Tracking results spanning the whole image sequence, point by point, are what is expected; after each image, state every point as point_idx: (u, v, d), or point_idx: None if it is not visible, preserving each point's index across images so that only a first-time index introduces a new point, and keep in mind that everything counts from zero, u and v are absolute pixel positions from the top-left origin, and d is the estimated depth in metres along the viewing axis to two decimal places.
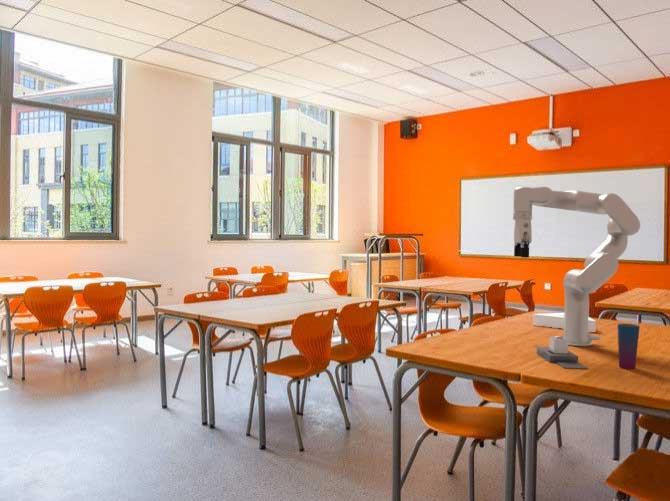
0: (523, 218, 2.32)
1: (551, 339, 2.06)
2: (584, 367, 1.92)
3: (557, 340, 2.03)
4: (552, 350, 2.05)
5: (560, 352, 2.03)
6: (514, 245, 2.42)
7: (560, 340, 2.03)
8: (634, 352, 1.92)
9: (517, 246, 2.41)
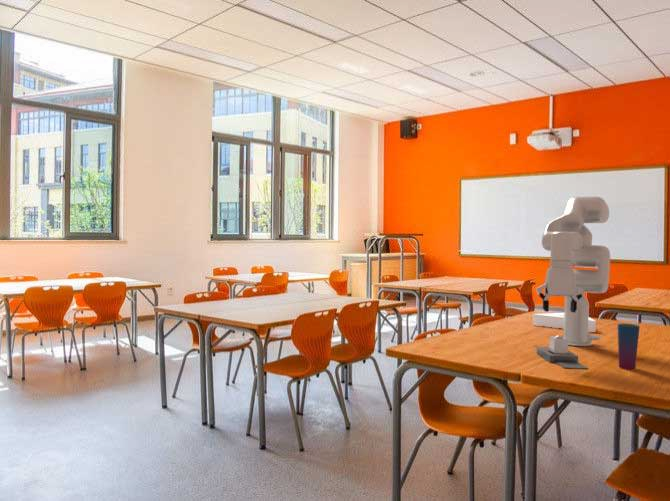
0: None
1: (551, 339, 2.06)
2: (584, 367, 1.92)
3: (557, 340, 2.03)
4: (552, 350, 2.05)
5: (560, 352, 2.03)
6: (544, 298, 2.04)
7: (560, 340, 2.03)
8: (634, 352, 1.92)
9: None
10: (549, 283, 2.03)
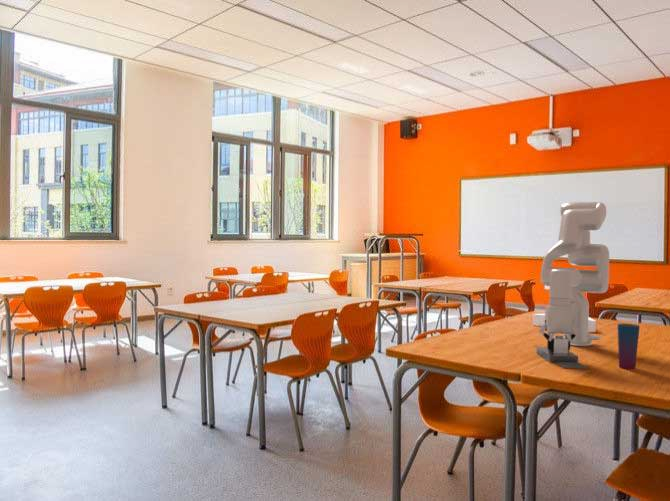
0: None
1: None
2: (584, 367, 1.92)
3: (557, 340, 2.03)
4: None
5: (560, 352, 2.03)
6: (549, 339, 2.05)
7: (560, 340, 2.03)
8: (634, 352, 1.92)
9: None
10: (548, 321, 2.04)
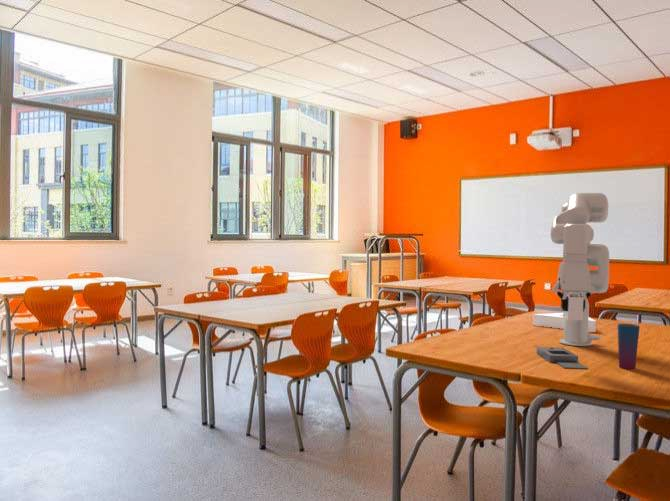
0: None
1: None
2: (584, 367, 1.92)
3: (572, 298, 1.93)
4: None
5: (575, 310, 1.93)
6: (563, 298, 1.94)
7: (575, 298, 1.93)
8: (634, 352, 1.92)
9: None
10: (562, 278, 1.93)
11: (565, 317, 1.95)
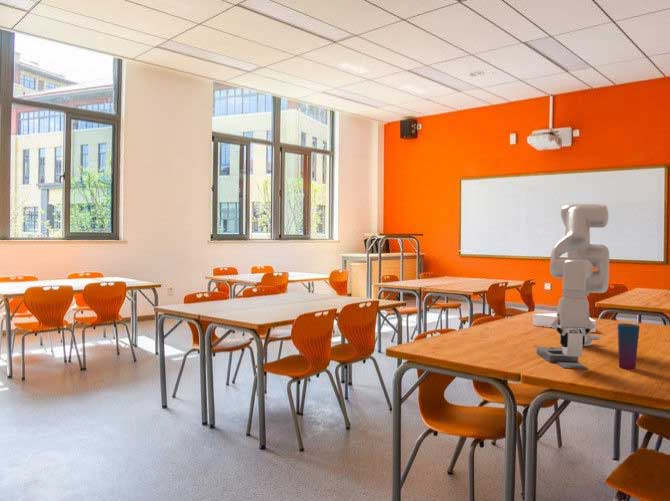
0: None
1: None
2: (584, 367, 1.92)
3: (571, 334, 1.93)
4: None
5: (575, 347, 1.93)
6: (562, 334, 1.94)
7: (574, 334, 1.93)
8: (634, 352, 1.92)
9: None
10: (561, 314, 1.93)
11: (564, 353, 1.95)
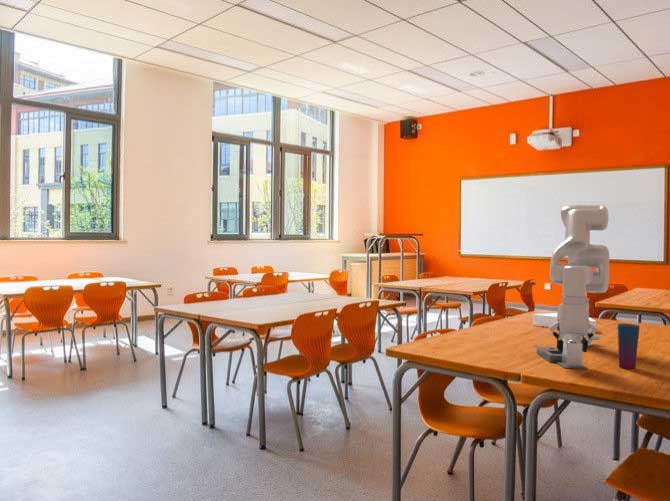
0: None
1: (564, 343, 1.96)
2: (584, 367, 1.92)
3: (571, 345, 1.93)
4: (566, 355, 1.94)
5: (574, 357, 1.93)
6: (558, 338, 1.94)
7: (574, 345, 1.93)
8: (634, 352, 1.92)
9: None
10: (561, 320, 1.93)
11: (564, 363, 1.96)
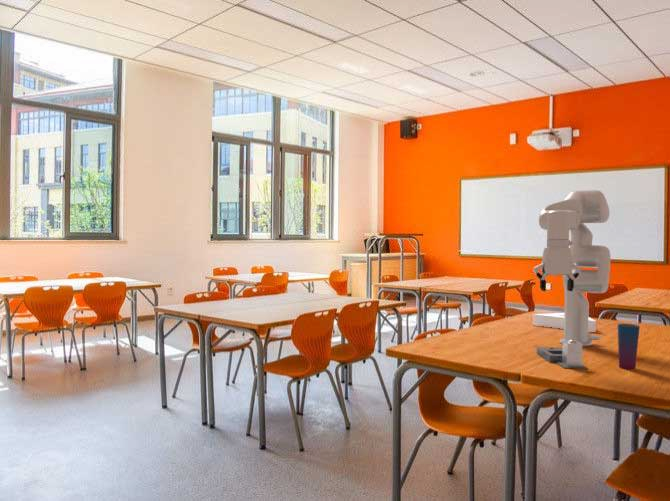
0: None
1: (564, 343, 1.96)
2: (584, 367, 1.92)
3: (571, 345, 1.93)
4: (566, 355, 1.94)
5: (574, 357, 1.93)
6: (541, 278, 2.03)
7: (574, 345, 1.93)
8: (634, 352, 1.92)
9: None
10: (546, 262, 2.02)
11: (564, 363, 1.96)
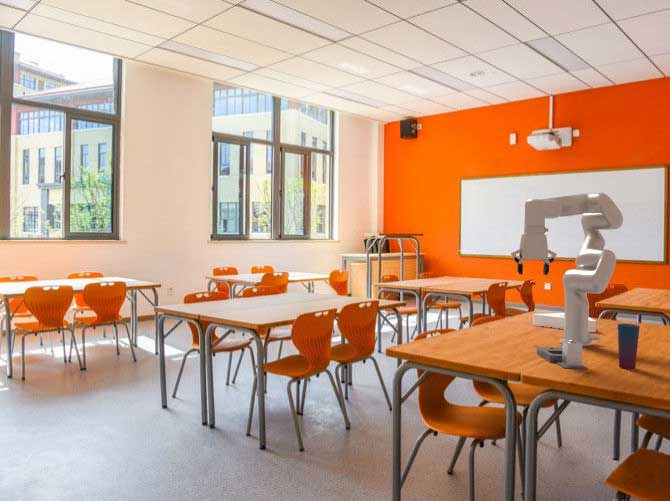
0: None
1: (564, 343, 1.96)
2: (584, 367, 1.92)
3: (571, 345, 1.93)
4: (566, 355, 1.94)
5: (574, 357, 1.93)
6: (518, 262, 2.18)
7: (574, 345, 1.93)
8: (634, 352, 1.92)
9: None
10: (523, 248, 2.17)
11: (564, 363, 1.96)
